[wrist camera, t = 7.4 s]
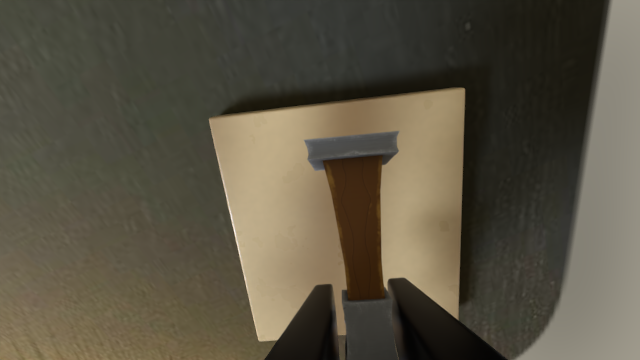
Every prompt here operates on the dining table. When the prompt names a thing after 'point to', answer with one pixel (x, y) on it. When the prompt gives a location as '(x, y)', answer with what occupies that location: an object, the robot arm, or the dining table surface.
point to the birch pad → (317, 205)
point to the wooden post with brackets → (360, 235)
